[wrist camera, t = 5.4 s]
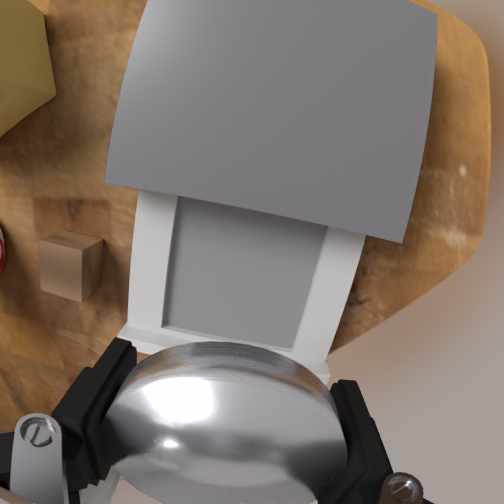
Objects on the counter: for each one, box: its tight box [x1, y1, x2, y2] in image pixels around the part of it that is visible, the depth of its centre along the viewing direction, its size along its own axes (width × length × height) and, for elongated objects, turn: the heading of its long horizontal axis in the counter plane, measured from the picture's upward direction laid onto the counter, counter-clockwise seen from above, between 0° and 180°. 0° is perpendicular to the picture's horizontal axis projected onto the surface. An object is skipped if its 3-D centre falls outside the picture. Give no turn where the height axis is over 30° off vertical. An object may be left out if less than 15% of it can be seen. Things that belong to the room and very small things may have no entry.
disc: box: [101, 341, 348, 504], centre depth 8 cm, size 7×7×2 cm
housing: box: [104, 0, 437, 243], centre depth 18 cm, size 16×18×5 cm
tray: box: [118, 189, 366, 385], centre depth 21 cm, size 16×16×3 cm
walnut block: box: [39, 230, 103, 303], centre depth 22 cm, size 4×4×4 cm
